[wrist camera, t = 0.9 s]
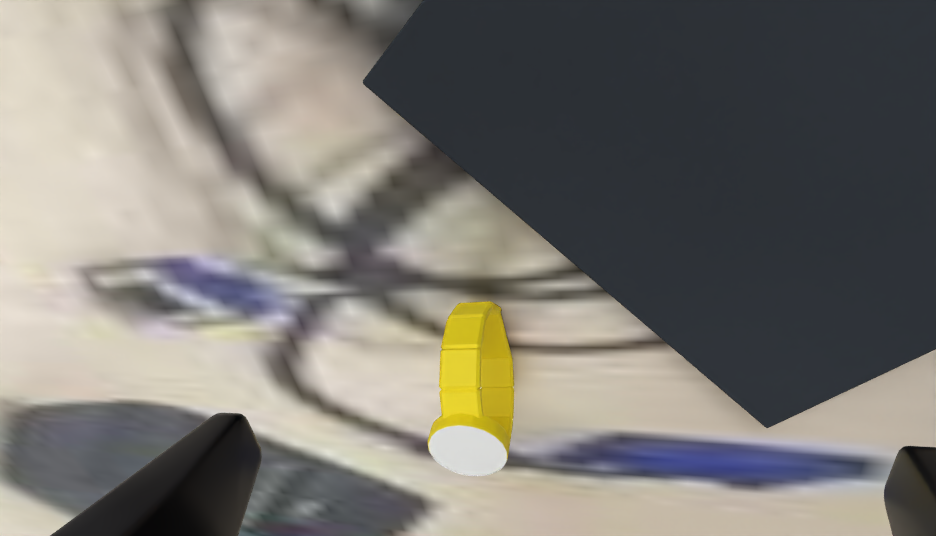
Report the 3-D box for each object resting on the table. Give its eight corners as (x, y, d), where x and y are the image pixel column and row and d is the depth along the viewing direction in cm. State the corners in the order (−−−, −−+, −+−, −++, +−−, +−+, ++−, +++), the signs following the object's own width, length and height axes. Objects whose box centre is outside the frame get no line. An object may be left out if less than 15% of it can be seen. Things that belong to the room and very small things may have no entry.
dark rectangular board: (1150, 214, 18) (1181, 235, 17) (760, 406, 25) (767, 429, 24) (711, -380, 13) (721, -398, 12) (372, 71, 20) (360, 83, 19)
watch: (442, 277, 24) (404, 386, 19) (512, 272, 23) (489, 385, 19) (472, 386, 27) (446, 503, 23) (534, 385, 27) (520, 505, 22)
